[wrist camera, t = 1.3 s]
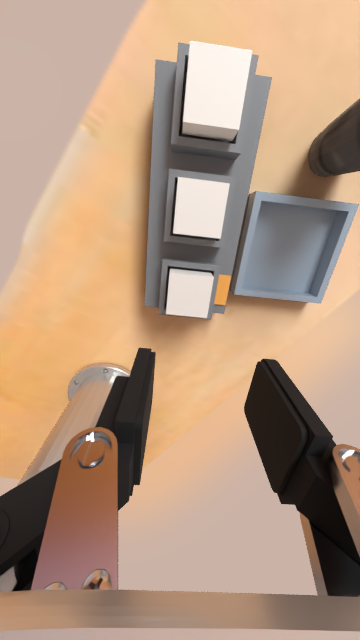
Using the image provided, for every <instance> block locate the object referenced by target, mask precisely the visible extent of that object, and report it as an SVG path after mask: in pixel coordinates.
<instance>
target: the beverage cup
mask: <svg viewBox="0 0 360 640" xmlns="http://www.w3.org/2000/svg"><path fill="white" fill-rule="evenodd" d="M309 164H310V168H311V169H312V171H313V172H314V173H315V174H317V175H319V176H325V177H326V176H331V175H333V176H335V175H340V174H345V173H351V172H356V171H360V99H359V100H357V101H356V102H355V103H354V104H353V105H352V106H350V107H349V108H348V109H347V110H346V111H344V112H343V113H342V114H341V115H340V116H339V117H337V118H336V119H335V120H334V121H333V122H332V123H330V124H329V125H328V126H327V127H326V129H324V131H323V132H321V133H320V134H319V135H318V136H317V137H316V138H315V140H314V142H313V143H312V145H311V148H310V152H309Z"/></svg>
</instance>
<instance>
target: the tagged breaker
mask: <svg viewBox="0 0 360 640" xmlns="http://www.w3.org/2000/svg"><path fill="white" fill-rule="evenodd" d="M213 280H214V277H213V275H212V274H211V273H209V272H200V271H190V270H181V269H172V268H170V274H169V285H168V296H167V308H166V314H169V315H180V316H190V317H200V318H207V315H208V309H209V303H210V297H211V291H212V286H213Z"/></svg>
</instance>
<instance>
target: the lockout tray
mask: <svg viewBox="0 0 360 640" xmlns="http://www.w3.org/2000/svg"><path fill="white" fill-rule="evenodd" d="M358 205H359V204H353V203H345V202H337V201H329V200H321V199H314V198H306V197H298V196H290V195H282V194H275V193H267V192H259V191H256V192H253V193H251V194H249V198H248V203H247V208H246V213H245V218H244V222H243V227H242V232H241V237H240V242H239V247H238V252H237V257H236V262H235V267H234V271H233V276H232V281H231V286H230V290H231V291H232V293H233V294H234V295H243V296H253V297H262V298H272V299H282V300H292V301H301V302H311V303H321V302H322V299H323V296H324V294H325V291H326V289H327V286H328V283H329V281H330V278H331V276H332V273H333V270H334V268H335V265H336V263H337V260H338V257H339V255H340V252H341V250H342V247H343V244H344V242H345V239H346V237H347V234H348V231H349V229H350V226H351V224H352V221H353V218H354V216H355V213H356V211H357V208H358Z"/></svg>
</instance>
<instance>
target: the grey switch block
mask: <svg viewBox="0 0 360 640" xmlns="http://www.w3.org/2000/svg"><path fill="white" fill-rule="evenodd" d="M252 51H253V50H247V49H240V48H234V47H228V46H222V45H216V44H209V43H203V42H197V41H191V40H190V44H184V43H178V55H177V63H176V62H169V61H163V60H156V64H155V86H154V108H153V130H152V152H151V174H150V196H149V218H148V240H147V262H146V284H145V306H150V307H159V313H158V314H162V315H169V314H166V308H167V296H168V285H169V274H170V268H172V269H181V270H190V271H200V272H209V273H211V274H212V275H213V277H214V280H213V286H212V291H211V297H210V303H209V309H208V315H207V318H203V319H211V318H212V313H221V314H224V311H225V306H226V301H227V297H228V292H229V287H230V282H231V277H232V272H233V267H234V262H235V257H236V252H237V247H238V242H239V237H240V232H241V227H242V222H243V217H244V213H245V208H246V203H247V198H248V193H249V188H250V183H251V178H252V173H253V168H254V163H255V158H256V153H257V148H258V143H259V138H260V133H261V129H262V124H263V119H264V114H265V109H266V104H267V99H268V94H269V89H270V84H271V79H272V77H266V76H259V75H255V72H256V67H257V61H258V56H259V55H253V54H252ZM172 316H180V315H172ZM182 317H190V316H182ZM193 318H200V317H193Z"/></svg>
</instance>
